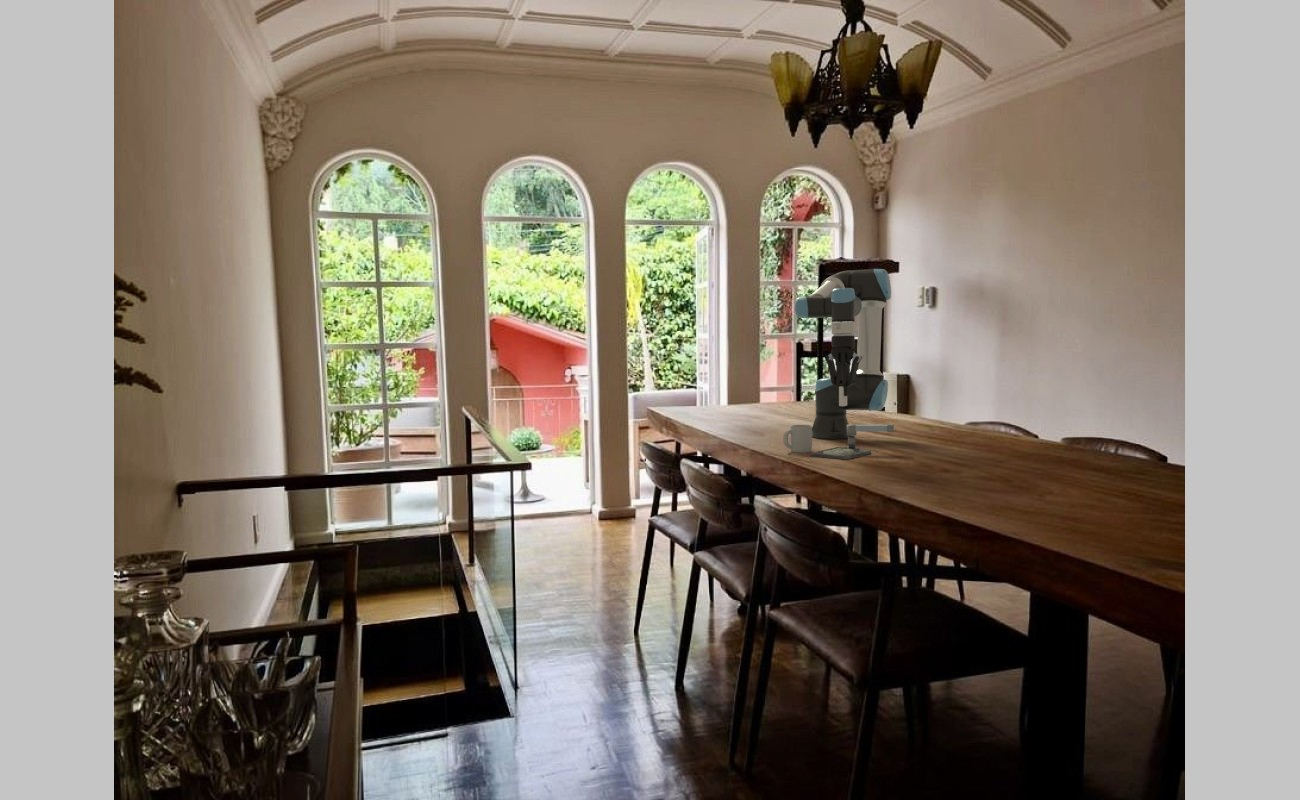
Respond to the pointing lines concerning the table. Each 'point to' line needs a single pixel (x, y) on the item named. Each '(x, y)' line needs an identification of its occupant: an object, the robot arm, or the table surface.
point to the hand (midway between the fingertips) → (843, 405)
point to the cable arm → (868, 428)
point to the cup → (799, 438)
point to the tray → (843, 451)
